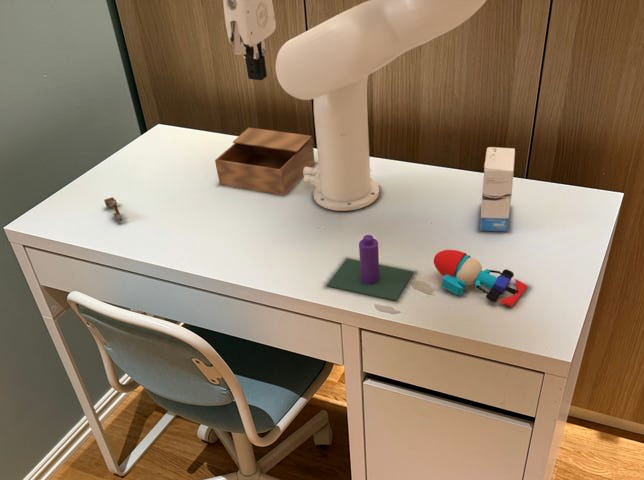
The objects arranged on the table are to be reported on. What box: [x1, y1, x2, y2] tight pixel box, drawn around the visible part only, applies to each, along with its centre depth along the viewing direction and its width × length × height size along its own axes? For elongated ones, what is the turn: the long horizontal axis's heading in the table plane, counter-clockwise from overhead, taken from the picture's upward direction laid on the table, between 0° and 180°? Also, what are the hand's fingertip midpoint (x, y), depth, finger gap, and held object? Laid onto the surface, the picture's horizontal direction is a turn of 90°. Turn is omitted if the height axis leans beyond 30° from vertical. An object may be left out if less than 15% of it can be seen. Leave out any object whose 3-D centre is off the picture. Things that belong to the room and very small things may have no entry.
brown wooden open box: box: [214, 138, 316, 197], centre depth 144 cm, size 15×14×5 cm
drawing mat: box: [326, 258, 414, 302], centre depth 116 cm, size 12×8×1 cm, turn 65°
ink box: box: [479, 146, 516, 232], centre depth 123 cm, size 8×5×12 cm, turn 168°
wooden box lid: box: [232, 127, 313, 152], centre depth 144 cm, size 15×7×1 cm, turn 65°
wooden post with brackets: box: [103, 196, 123, 223], centre depth 137 cm, size 2×8×4 cm, turn 28°
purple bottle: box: [358, 234, 380, 285], centre depth 113 cm, size 3×3×8 cm
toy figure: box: [433, 249, 528, 307], centre depth 112 cm, size 8×5×15 cm
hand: (257, 77), depth 134 cm, fingers closed
